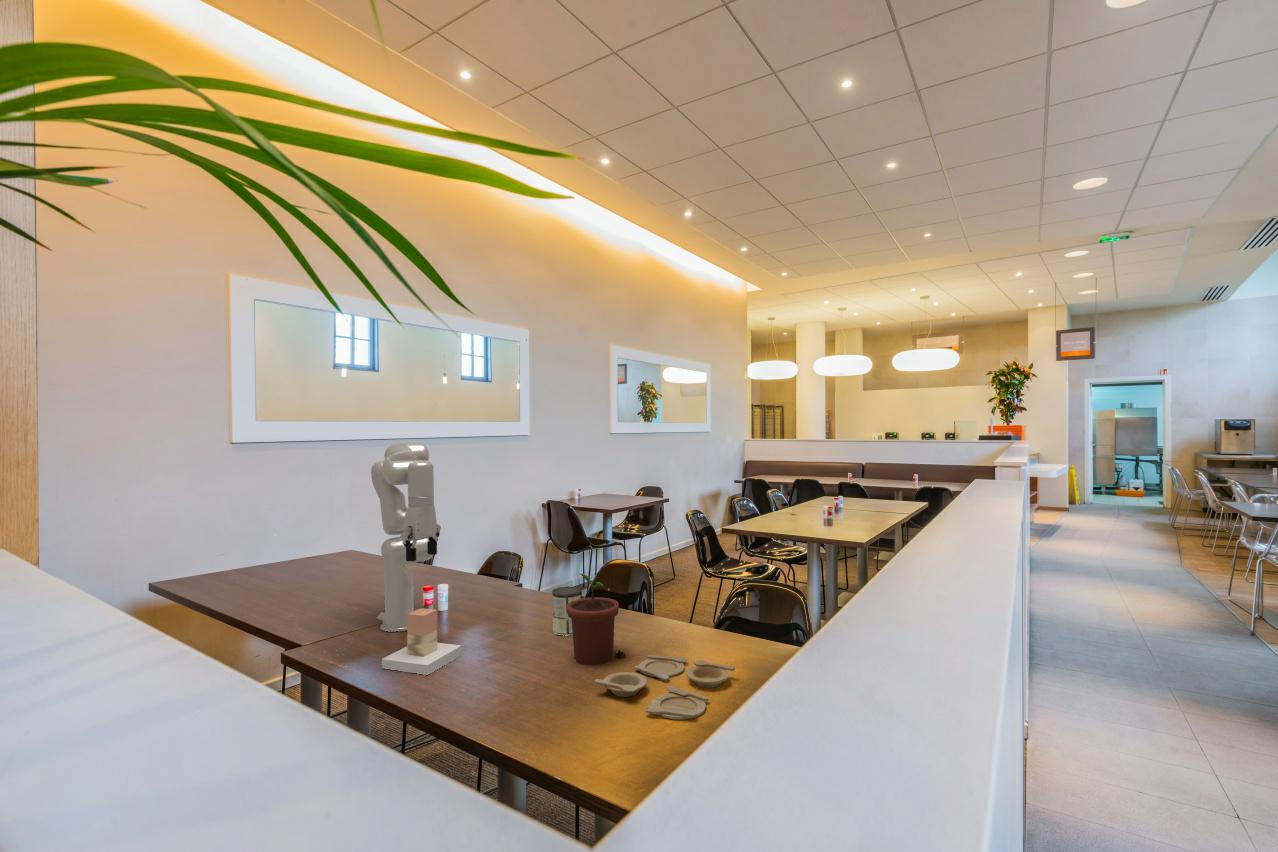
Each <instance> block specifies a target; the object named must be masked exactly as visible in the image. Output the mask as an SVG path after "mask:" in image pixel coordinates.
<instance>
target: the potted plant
mask: <svg viewBox="0 0 1278 852" xmlns="http://www.w3.org/2000/svg"><path fill="white" fill-rule="evenodd" d="M580 576H582V578H583V579H585V581H587V582H588V583H589V584H590V585H591V597H582V599H578V600H574V601H572V602H570V603H568V604H567V613H568V617H570V618H571V620H572V633H573V636H572V643H573V644H572V645H573V655H574V658H573V659H574V660H576V661H575V662H577V663H578V662H579V664H581V665H586V664H587V665H589V666H593V665H601V664H605V663H607V662H610V661H611V660H612V659H613V658H614V641H615V638H614V637H615V636H614V635H615V617H616V616H618V614H619V607H620V604H619V602H618V601H617V600H616V599H612V598H610V597H609V598H608V597H598V596H597V597H595V596H594V589H595V588H602V587H605V584H603V583H602V582H599V581H596V583H595V585H593V582H591V581H590V580H591V578H590V577H589V576H588V575H587V574H584V573H580ZM626 657H627V656H626V653H625V652H623V651H621V650H620V649H619V650H618V651H616V653H615V659H617V660H618V659H625V658H626ZM587 665H586V666H587Z"/></svg>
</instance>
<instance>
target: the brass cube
mask: <svg viewBox="0 0 1278 852" xmlns="http://www.w3.org/2000/svg"><path fill="white" fill-rule="evenodd" d="M406 636H407V638H406V641H407V644H406V645H407V646H406V647H407V649H408V655H414V656H422V657H425V656H427V655H429V654H430V653H432V652H434V651H436V650H437V643H438V629H437V630H436V631H434V632H432V633H430V634H428V635H426V636H417V635H409V634H406Z"/></svg>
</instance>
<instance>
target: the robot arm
mask: <svg viewBox="0 0 1278 852" xmlns="http://www.w3.org/2000/svg"><path fill="white" fill-rule="evenodd" d="M383 457H384V460H380V461H377V462H375V463H374V464H373V465H372V467H371V470H370V474H371V475H370V477H371V482H372V485H373V489H374V490H375V492H376V495H377V496H378V498H379V503H380V504H379V505H380V515H381V523H382V528H383V531H384V533H385V534H386V535H388V536H396V537H392V538H388V539H386V540H384V541H383V542H382V544H381V548H380V552H381V559H382V566H383V577H384V578H383V580H384V581H383V582H384V583H383V584H384V611H383V612H380V613H379V614H378V615H377V617H376V618H377V620H379V621H381V620H382V623H381V624H380V627H379V629H380V630H381V631H382V632H386V631H388V632H387V633H397V632H396V631H398V632H404V631H407V614H408V613H411V612H413V611H415V609H414V608H415V607H414V606H415V605H414V603H415V602H414V601H415V600H414V599H415V598H414V575H413V573H412V571H411V570H410V568H408V567H407V566H406V565H407V564H411V563H413V564H414V563H418V562H419V563H420V562H425V561H427V562H428V561H429V560H431V559H432V558H433V556H435V555H437V554H438V541H439V537H440V536H441V535H440V532H441V529H442V526H441V525H439V524H438V523H437V513H436V507H435V482H434V481H435V480H434V479H435V478H434V464H433V463H432V462H430V461H429V460H430V458H429V457H430V454H429V449H428V448H427V446H426V445H425V444H424V443H421V442H406V443H405V442H404V443H394V444H391V445H389V446H388V447H387V448H386V449H385V452H384V456H383ZM402 485H407V505H408V506H407V505H406V498H405V494H404V493H403V492H402V491H401V490H400V489H399V488H398V487H397V486H402ZM399 535H400V536H399Z"/></svg>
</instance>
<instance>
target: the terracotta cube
mask: <svg viewBox="0 0 1278 852" xmlns="http://www.w3.org/2000/svg"><path fill="white" fill-rule="evenodd" d="M436 630H437V631H438V609H431V608H422V607H421V608H418V609H416V610H415V609H414V611H413V612H411V613H408V614H407V630H406V631H407V634H409V635H417V636H426V635H428V634H430V633H432V632H434V631H436ZM407 634H406V635H407Z"/></svg>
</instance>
